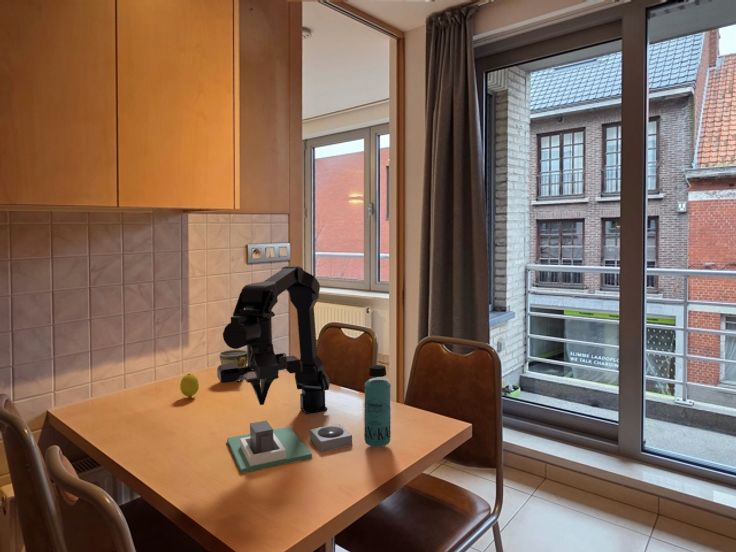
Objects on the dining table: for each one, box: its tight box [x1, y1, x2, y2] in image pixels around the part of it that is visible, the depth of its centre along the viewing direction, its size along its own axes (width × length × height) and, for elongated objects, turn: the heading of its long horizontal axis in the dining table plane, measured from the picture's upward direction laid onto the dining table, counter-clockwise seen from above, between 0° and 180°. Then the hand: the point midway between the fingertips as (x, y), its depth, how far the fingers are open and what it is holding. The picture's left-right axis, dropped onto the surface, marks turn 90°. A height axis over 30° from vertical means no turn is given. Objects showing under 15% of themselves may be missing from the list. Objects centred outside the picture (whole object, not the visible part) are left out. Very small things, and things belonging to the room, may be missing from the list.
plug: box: [249, 420, 274, 454], centre depth 109 cm, size 4×7×6 cm, turn 26°
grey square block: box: [309, 423, 353, 453], centre depth 117 cm, size 8×8×3 cm
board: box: [226, 426, 313, 474], centre depth 113 cm, size 16×18×3 cm
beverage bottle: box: [363, 364, 392, 448], centre depth 113 cm, size 6×7×20 cm
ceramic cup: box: [218, 349, 248, 382], centre depth 169 cm, size 13×10×10 cm
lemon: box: [179, 372, 200, 399], centre depth 151 cm, size 6×6×8 cm
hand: (261, 404), depth 110 cm, fingers closed
